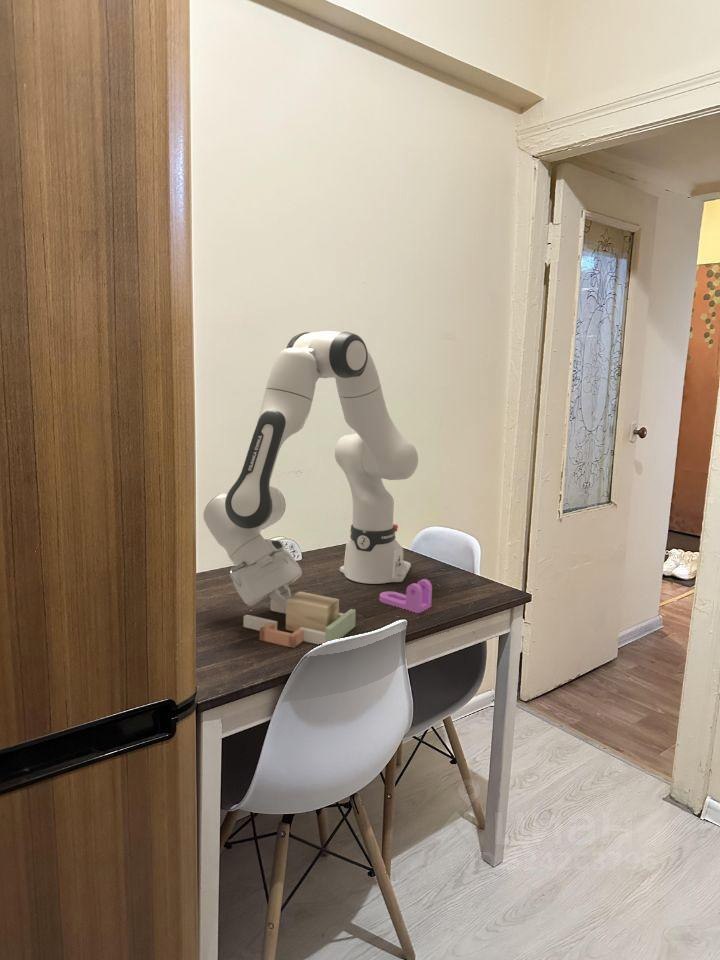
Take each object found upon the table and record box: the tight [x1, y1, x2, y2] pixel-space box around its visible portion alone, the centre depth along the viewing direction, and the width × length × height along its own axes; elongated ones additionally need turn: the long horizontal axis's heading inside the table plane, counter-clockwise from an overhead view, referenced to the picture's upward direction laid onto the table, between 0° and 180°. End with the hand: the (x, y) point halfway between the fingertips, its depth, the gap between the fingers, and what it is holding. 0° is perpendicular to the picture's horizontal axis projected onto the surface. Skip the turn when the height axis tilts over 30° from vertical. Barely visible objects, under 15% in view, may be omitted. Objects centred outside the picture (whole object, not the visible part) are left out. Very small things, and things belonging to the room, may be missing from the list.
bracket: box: [379, 578, 433, 614], centre depth 168 cm, size 13×6×7 cm, turn 51°
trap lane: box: [243, 599, 357, 649], centre depth 152 cm, size 20×22×4 cm
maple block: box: [285, 591, 340, 633], centre depth 150 cm, size 6×10×7 cm, turn 65°
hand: (290, 606), depth 152 cm, fingers closed, pressing on maple block
